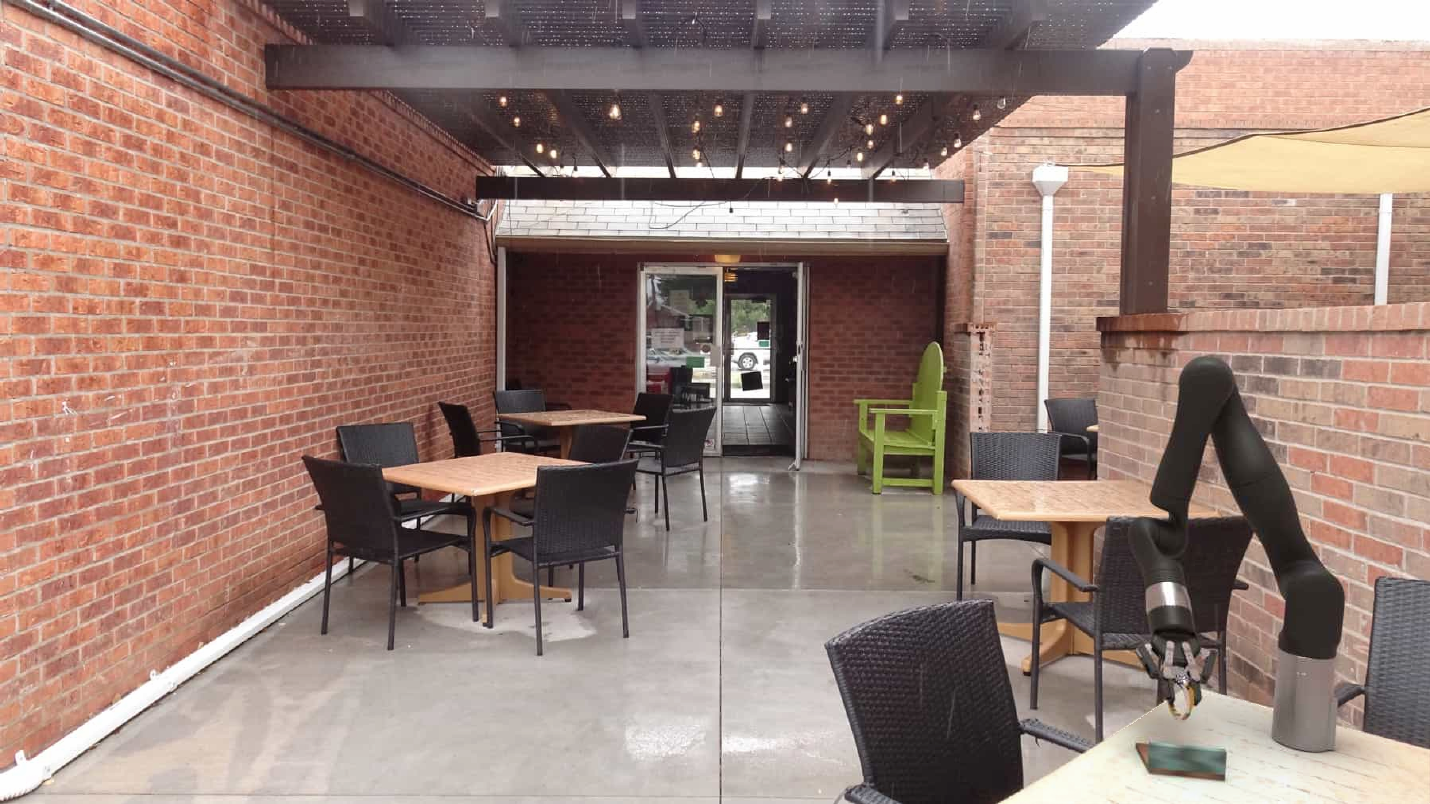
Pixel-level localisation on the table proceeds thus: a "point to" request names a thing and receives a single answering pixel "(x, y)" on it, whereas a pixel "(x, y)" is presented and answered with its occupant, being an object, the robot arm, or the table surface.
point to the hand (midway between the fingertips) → (1183, 702)
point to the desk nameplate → (1183, 760)
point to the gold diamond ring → (1189, 697)
